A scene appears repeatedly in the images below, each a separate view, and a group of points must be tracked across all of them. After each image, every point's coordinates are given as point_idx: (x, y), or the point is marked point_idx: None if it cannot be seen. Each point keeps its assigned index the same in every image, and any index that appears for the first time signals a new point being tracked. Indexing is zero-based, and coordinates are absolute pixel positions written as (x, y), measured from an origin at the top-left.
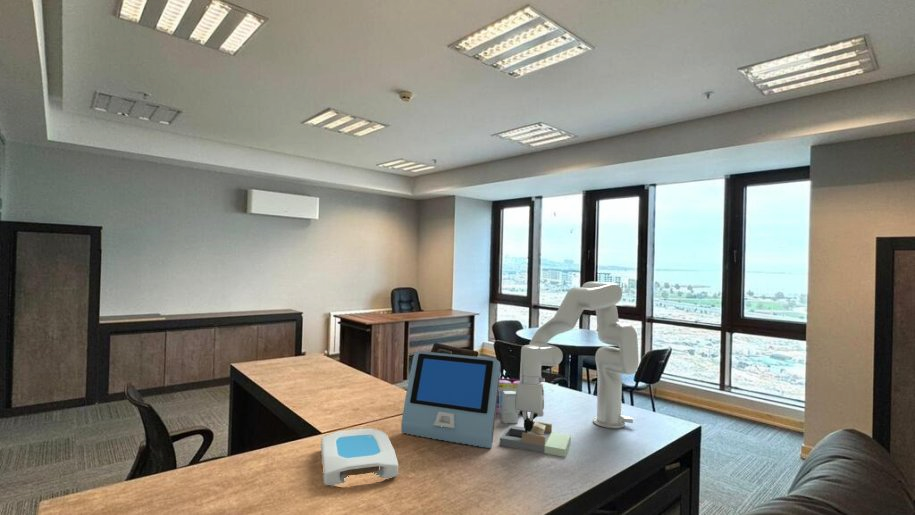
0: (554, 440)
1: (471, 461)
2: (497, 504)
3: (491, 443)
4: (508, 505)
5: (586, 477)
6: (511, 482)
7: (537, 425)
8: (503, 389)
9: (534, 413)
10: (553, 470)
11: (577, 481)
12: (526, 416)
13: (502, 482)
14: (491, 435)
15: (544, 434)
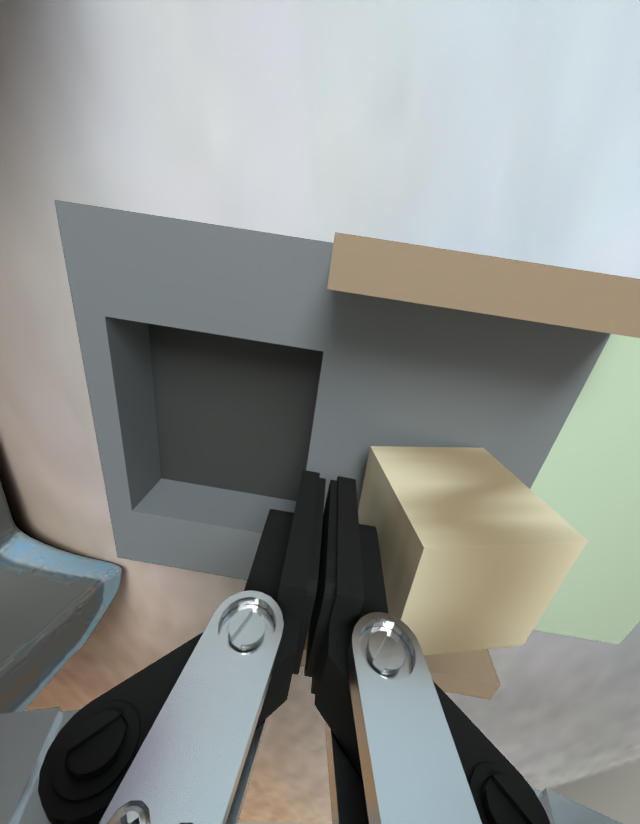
0: (581, 521)
1: (107, 675)
2: (280, 817)
3: (105, 607)
4: (308, 819)
5: (614, 731)
6: (298, 760)
7: (448, 622)
8: None
9: (450, 812)
10: (467, 701)
11: (556, 750)
12: (260, 713)
13: (269, 761)
14: (62, 666)
15: (507, 401)
